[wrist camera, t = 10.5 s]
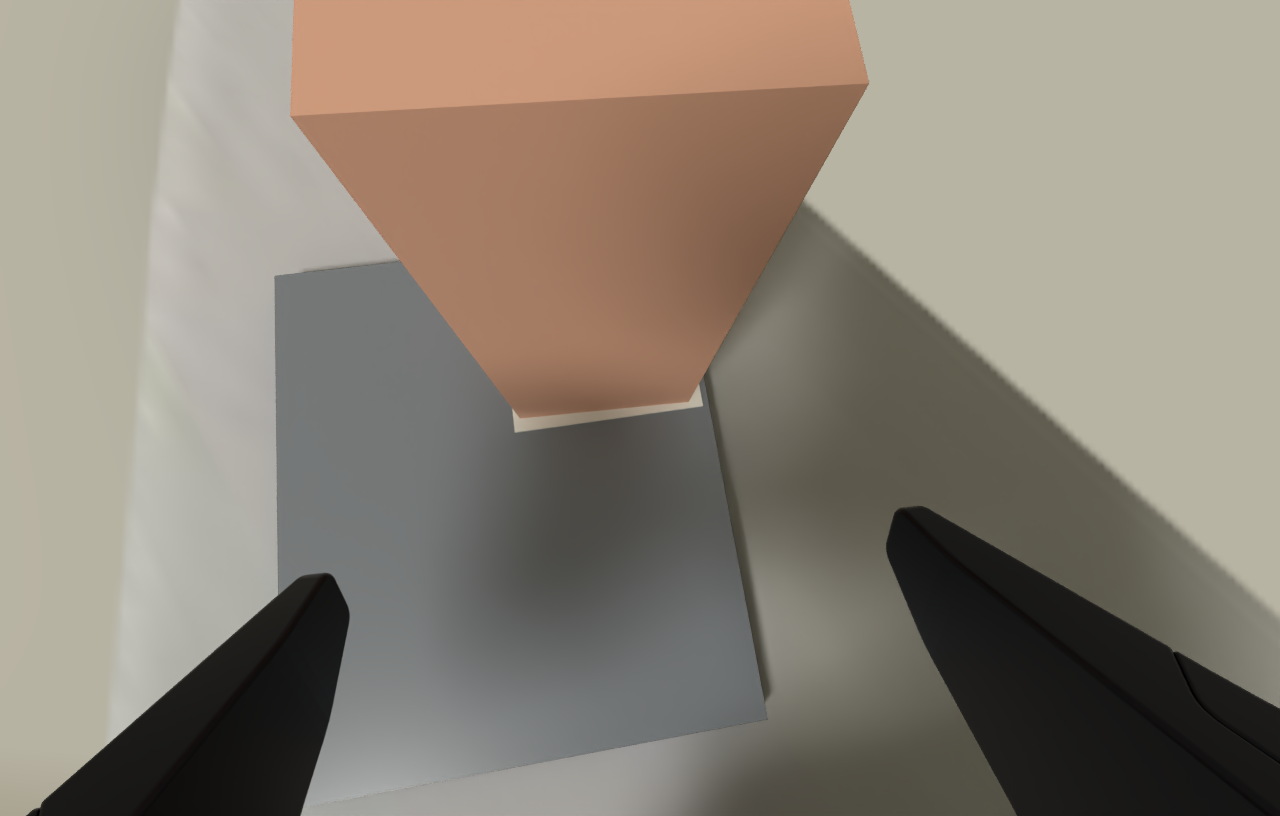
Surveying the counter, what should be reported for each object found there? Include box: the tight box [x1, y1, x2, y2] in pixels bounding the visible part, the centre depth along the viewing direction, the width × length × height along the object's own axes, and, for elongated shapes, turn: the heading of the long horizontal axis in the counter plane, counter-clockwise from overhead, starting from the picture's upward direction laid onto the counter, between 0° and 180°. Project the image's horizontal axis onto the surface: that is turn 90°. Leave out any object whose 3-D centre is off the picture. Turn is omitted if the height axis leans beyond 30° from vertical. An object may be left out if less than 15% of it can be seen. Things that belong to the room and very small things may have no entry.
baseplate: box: [275, 262, 768, 808], centre depth 16 cm, size 15×12×1 cm
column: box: [290, 0, 869, 418], centre depth 11 cm, size 5×5×12 cm
